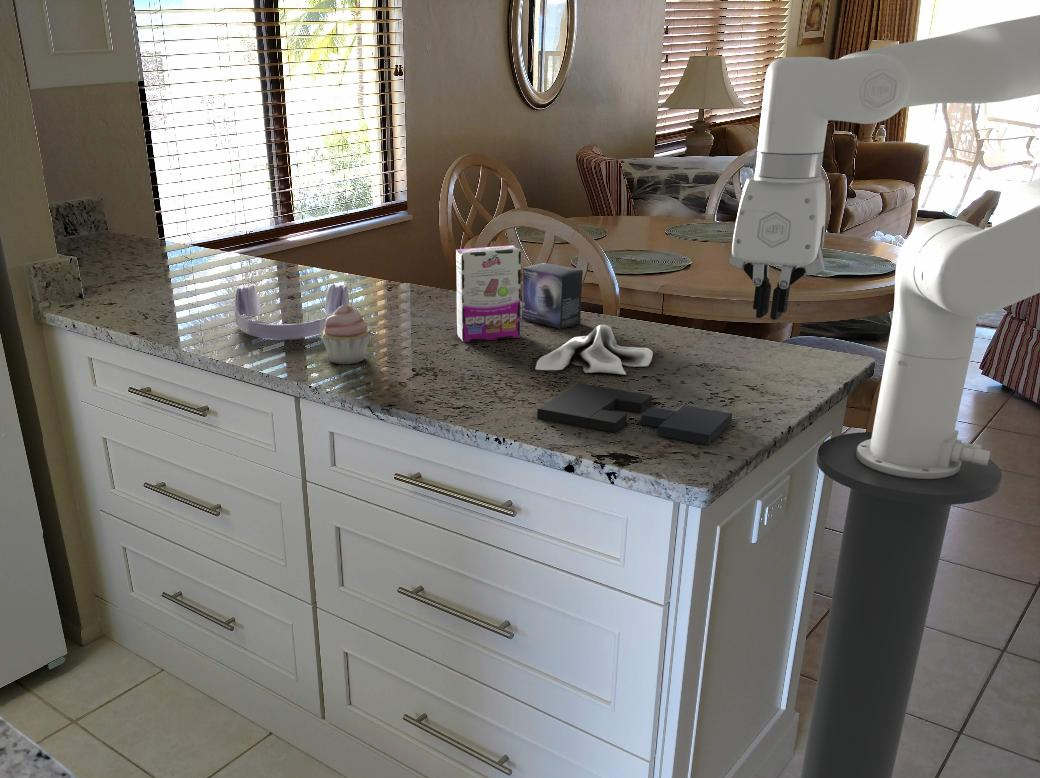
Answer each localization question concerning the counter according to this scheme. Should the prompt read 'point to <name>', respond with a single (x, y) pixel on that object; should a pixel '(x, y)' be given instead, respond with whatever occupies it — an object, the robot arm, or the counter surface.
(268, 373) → the counter surface
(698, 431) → the charcoal pad
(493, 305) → the candy bar box
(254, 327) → the headphones
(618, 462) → the counter surface
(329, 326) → the cupcake
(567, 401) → the black notched block
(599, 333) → the cloth
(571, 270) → the small box
